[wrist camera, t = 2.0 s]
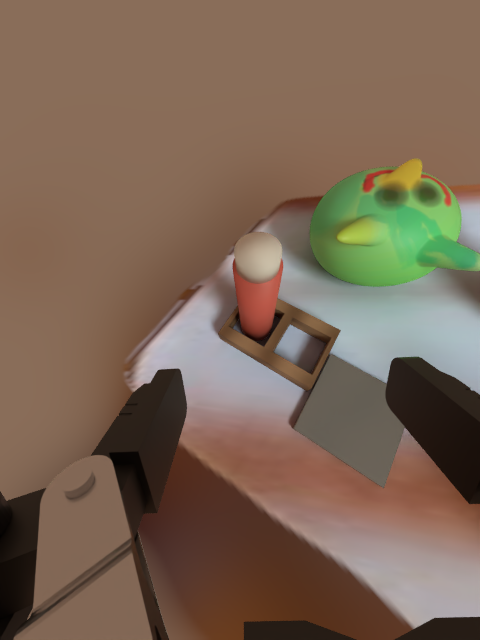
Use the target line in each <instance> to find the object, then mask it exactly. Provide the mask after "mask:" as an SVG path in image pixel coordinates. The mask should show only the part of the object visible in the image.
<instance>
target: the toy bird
mask: <svg viewBox="0 0 480 640" xmlns="http://www.w3.org/2000/svg"><path fill="white" fill-rule="evenodd" d="M460 229H461V210H460V207H459V204H458V201H457V199H456V197H455V196H454V194H453V193H452V191H451V190H450V189H449V188H448V187H447V186H446V185H445V184H444V183H443V182H441V181H440V180H438V179H437V178H435V177H433V176H432V175H429V174H427V173H425V172H422V162H421V160H419V159H411V160H409V161H407V162H406V163H404V164H403V165H401V166H400V167H380V168H374V169H369V170H365V171H362V172H359V173H356V174H354V175H351V176H349V177H347V178H345V179H343V180H342V181H340V182H339V183H337V184H336V185H335V186H333V187H332V188H331V189H330V190H329V191H328V192H327V193H326V194H325V195H324V196H323V198H322V199H321V200H320V202H319V204H318V205H317V207H316V209H315V211H314V214H313V217H312V220H311V224H310V244H311V248H312V251H313V254H314V256H315V258H316V259H317V261H318V262H319V264H320V265H321V266H322V267H323V268H324V269H325V270H326V271H327V272H329V273H330V274H332V275H333V276H335V277H337V278H339V279H341V280H343V281H346V282H349V283H353V284H357V285H362V286H373V287H380V286H392V285H398V284H403V283H407V282H410V281H413V280H416V279H418V278H420V277H422V276H424V275H426V274H428V273H430V272H431V271H433V270H434V269H435V268H437V267H438V268H447V269H455V270H465V271H480V254H479V253H477V252H475V251H473V250H471V249H469V248H467V247H465V246H463V245H461V244H459V243H457V239H458V237H459V233H460Z"/></svg>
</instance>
